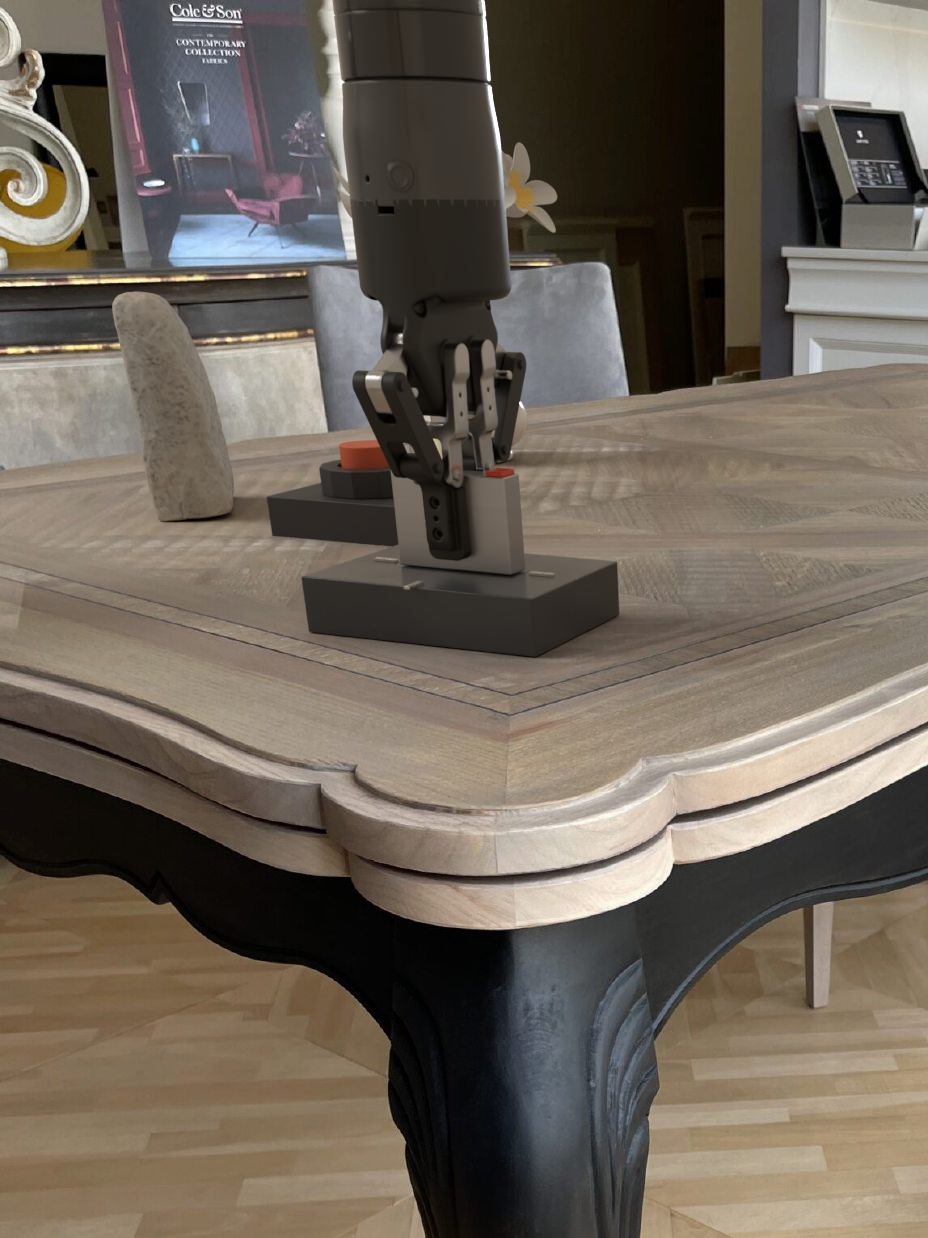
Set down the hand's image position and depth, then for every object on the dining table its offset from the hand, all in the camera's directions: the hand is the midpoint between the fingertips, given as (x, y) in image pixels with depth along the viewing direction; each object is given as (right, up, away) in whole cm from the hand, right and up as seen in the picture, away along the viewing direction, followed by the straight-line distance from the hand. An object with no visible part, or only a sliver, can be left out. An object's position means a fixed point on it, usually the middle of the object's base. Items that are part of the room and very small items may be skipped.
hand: (461, 553), depth 83 cm
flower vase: (-10, +26, +55) cm, 62 cm away
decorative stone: (-27, +13, +32) cm, 44 cm away
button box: (-11, +10, +25) cm, 29 cm away
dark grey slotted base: (0, -3, +2) cm, 4 cm away
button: (-11, +13, +23) cm, 29 cm away
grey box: (0, -1, 0) cm, 1 cm away
